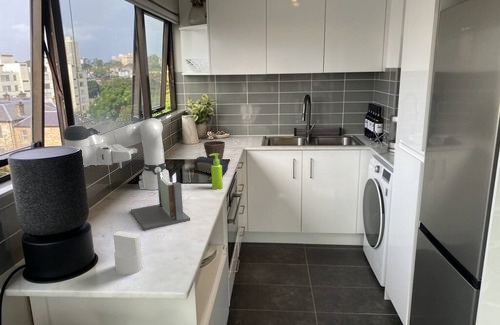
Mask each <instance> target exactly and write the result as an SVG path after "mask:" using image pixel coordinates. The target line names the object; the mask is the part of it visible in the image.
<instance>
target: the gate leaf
mask: <svg viewBox="0 0 500 325" xmlns="http://www.w3.org/2000/svg"><path fill="white" fill-rule="evenodd" d="M160 191H161V204H162V206H163V207H164V208H165V209H166V210H167V211H168V212H169V213H170V216H171V217H174V204H173V189H172V184H171V185H169V184H168V183H167V182H166V181H165V180H164V179H162V178H160Z"/></svg>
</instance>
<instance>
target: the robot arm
mask: <svg viewBox="0 0 500 325" xmlns="http://www.w3.org/2000/svg"><path fill="white" fill-rule="evenodd" d="M163 131H164V126H163V123H162V121H161V120H159V119H157V118H155V117H151V118H147V119H144V120H142V121H138V122H135V123H133V124H132V123H131V124H129V125H126V126H123V127H120V128H117V129H112V130H111V131H108V132H106V133H103V134H100V133H101V131H98V130H97V129H96V128H94V127H86V126H83V125H79V124H78V125H77V124H76V125H70V126H67V127H66V128H64V130H63V132H62V137H63V140H64V146H75V147H79V148H80V149H81V150H82V156H83V165H84V169H83V170H89V169H90V165H95V166H97V165H104V166H113V164H117V163H123V162H127V161H130V160H132V154H137V153H138V148H136V147H133V146H135V145H138V144H140V143H141V145H142V149H143V159H144V160H143V161H144V162H143V169H144V170H143V171H142V173H141V175H139V181H138V186H139V190H147V191H148V190H149V191H156V190H158V180H157V172H159V171H161V172H162V177H163V179H164V180H165V181H166V182H167V183H168V184H169V185H171V184H172V183H173V181H170V173H169V170H168V169H167V166H166V162H165V151H164V149H165V148H164V144H163V136H162V134H163Z"/></svg>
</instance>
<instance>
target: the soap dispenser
mask: <svg viewBox="0 0 500 325" xmlns="http://www.w3.org/2000/svg"><path fill="white" fill-rule="evenodd" d="M213 155H215V159H214V160H213V164H214V165H212V166H211V170H212V174H211V189H212V190H214V189H219V190H221V189H222V190H223V187H224V184H223V175H222V165H220V162H219V159H218V155H219V154H218V153H214V154H210V155H209V156H213Z"/></svg>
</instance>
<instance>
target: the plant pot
mask: <svg viewBox="0 0 500 325" xmlns="http://www.w3.org/2000/svg"><path fill="white" fill-rule="evenodd" d="M203 147H204V152H205V155H206V157H208V158H213V159H215V155H213V156H209V155H210V154H214V153H218V154H219V155H218V159H219V160H222V161H223V157H224V152H225V147H226V142H225V141H223V140H212V141H211V140H209V141H205V142H204V143H203Z"/></svg>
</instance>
